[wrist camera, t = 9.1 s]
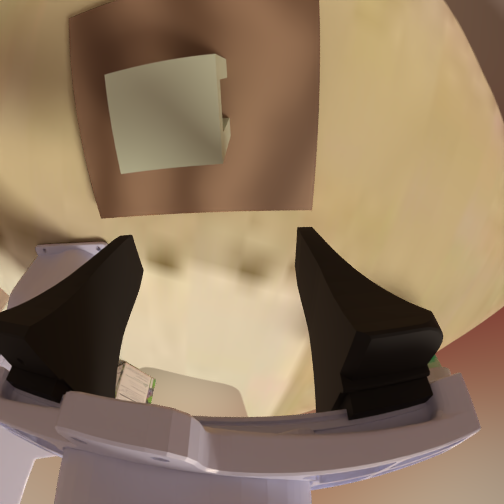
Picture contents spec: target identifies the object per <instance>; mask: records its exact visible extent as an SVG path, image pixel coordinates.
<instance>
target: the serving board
mask: <svg viewBox="0 0 504 504" xmlns="http://www.w3.org/2000/svg"><path fill="white" fill-rule="evenodd" d="M69 38H70V58H71V70H72V81H73V89H74V97H75V105H76V111H77V118H78V124H79V129H80V135H81V140H82V145H83V150H84V155H85V159H86V164H87V168H88V172H89V176H90V180H91V184H92V188H93V192H94V195H95V199H96V203H97V206H98V210H99V213H100V216H101V219H102V218H114V217H128V216H143V215H160V214H178V213H200V212H228V211H271V210H312V204H313V193H314V181H315V167H316V152H317V135H318V114H319V83H320V16H319V0H117V1H114V2H111V3H108V4H105V5H102V6H99V7H96V8H94V9H91V10H88V11H86V12H83V13H81V14H78V15H76V16H74V17H71V18H69ZM208 54H217V55H219V56H221V57H223V58H225V59H226V66H227V78H224V79H220V91H221V106H222V118H230V134H231V136H230V140H229V143H228V147H227V151H226V154H225V158H224V162H223V164H213V165H199V166H187V167H176V168H166V169H157V170H148V171H140V172H133V173H125V174H121V172H120V167H119V162H118V158H117V153H116V148H115V142H114V137H113V132H112V126H111V120H110V113H109V107H108V100H107V92H106V84H105V76H104V75H106V74H109V73H113V72H117V71H120V70H124V69H128V68H132V67H136V66H141V65H145V64H150V63H155V62H160V61H166V60H171V59H178V58H184V57H191V56H199V55H208Z"/></svg>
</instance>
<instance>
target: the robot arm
mask: <svg viewBox="0 0 504 504" xmlns="http://www.w3.org/2000/svg"><path fill="white" fill-rule="evenodd" d="M98 247H100V248H98ZM35 250H36V252H37V255H38V256H37V257H36V259H35V260H34V261H33V263H32V264H31V265H30V266H29V268H28V269H27V271H26V272H25V273H24V275H23V276H22V277H21V279H20V280H19V282H18V283H17V285H16V286H15V287H14V289H13V290H12V292H11V294H10V297H9V301H8V307H7V310H5V311H3V312H0V504H20V502H21V499H22V496H23V492H24V489H25V487H26V483H27V480H28V478H29V475H30V472H31V469H32V467H33V464H34V462H35V460H36V459H39V458H45V457H52V456H58V457H61V458H62V462H61V467H60V472H59V477H58V482H57V488H56V495H55V501H54V504H312V500H311V490H316V489H322V488H328V487H334V486H339V485H344V484H348V483H353V482H357V481H361V480H365V479H369V478H373V477H376V476H380V475H383V474H386V473H390V472H393V471H396V470H399V469H402V468H405V467H408V466H411V465H414V464H416V463H419V462H422V461H424V460H427V459H429V458H432V457H435V456H437V455H439V454H442V453H444V452H446V451H448V450H450V449H451V448H453V447H455V446H456V445H458V444H460V443H461V442H463V441H464V440H466V439H468V438H469V437H471V436H472V435H474V434H475V433H477V432H478V431H479V430H480V429H481V427H480V424H479V420H478V418H477V414H476V412H475V409H474V406H473V403H472V400H471V397H470V395H469V392H468V389H467V387H466V384H465V382H464V379H463V377H462V374H461V373H456V374H453V375H450V376H446V377H443V378H440V379H437V380H435V381H433V382H432V383H430V384H429V381H428V378H427V376H429V375H430V370H429V368H428V365H427V364H428V363H429V362H430V360H431V359H432V358H433V356H434V355H435V353H436V352H437V351H438V349H439V347H440V345H441V343H442V340H443V333H442V331H441V329H440V326H439V324H438V322H437V321H436V319H435V317H434V315H433V313H432V312H431V311H429V310H426V309H424V308H422V307H419V306H417V305H414V304H412V303H409V302H407V301H405V300H403V299H401V298H399V297H397V296H395V295H394V294H392V293H390V292H388V291H386V290H385V289H383V288H381V287H380V286H378V285H377V284H375V283H373V282H372V281H371V280H369V279H368V278H366V277H365V276H364V275H362V274H361V273H359V272H358V271H357V270H356V269H354V268H353V267H352V266H351V265H350V264H348V263H347V262H346V261H345V260H344V259H343V258H342V257H341V256H339V255H338V254H337V253H336V252H335V251H334V250H333V249H332V248H331V247H330V246H329V245H328V244H327V243H326V242H325V240H324V239H323V238H322V237H321V236H320V235H319V234H318V233H317V232H316V231H315V230H314V229H313V228H312V227H297V243H296V259H295V270H296V278H297V286H298V290H299V294H300V298H301V302H302V306H303V310H304V314H305V318H306V322H307V326H308V331H309V336H310V343H311V352H312V361H313V371H314V384H315V399H316V413H311V414H300V415H287V416H270V417H207V416H191V415H190V414H188V413H185V412H182V411H179V410H176V409H174V408H170V407H165V406H160V405H155V404H148V403H140V402H133V401H126V400H120V399H115V390H116V378H117V368H118V361H119V355H120V349H121V344H122V339H123V335H124V331H125V328H126V325H127V322H128V320H129V317H130V314H131V311H132V308H133V306H134V303H135V300H136V297H137V295H138V292H139V289H140V285H141V280H142V276H143V271H144V270H143V267H142V264H141V261H140V258H139V255H138V252H137V249H136V246H135V243H134V239H133V236H132V235H123V236H119V237H118V238H116V239H115V240H113V241H112V242H111V243H109V244H107V243H105V242H85V243H64V244H45V245H37V246H36V248H35Z"/></svg>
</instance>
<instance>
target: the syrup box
mask: <svg viewBox="0 0 504 504" xmlns="http://www.w3.org/2000/svg"><path fill="white" fill-rule="evenodd" d="M155 382H156V380H155V379H154V378H153V377H151V376H149V375H147V374H145V373H144V372H142V371H140V370H138V369H137V368H135V367H133V366H131V365H130V364H128V363H126V362H125V363H123V364H121V365H119V366H118V368H117V378H116V390H115V399H120V400H126V401H133V402H140V403H148V404H151V400H152V396H153V391H154V386H155Z"/></svg>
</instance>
